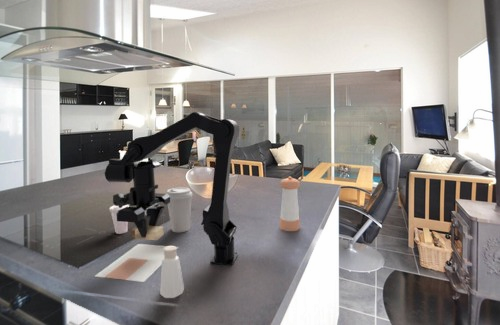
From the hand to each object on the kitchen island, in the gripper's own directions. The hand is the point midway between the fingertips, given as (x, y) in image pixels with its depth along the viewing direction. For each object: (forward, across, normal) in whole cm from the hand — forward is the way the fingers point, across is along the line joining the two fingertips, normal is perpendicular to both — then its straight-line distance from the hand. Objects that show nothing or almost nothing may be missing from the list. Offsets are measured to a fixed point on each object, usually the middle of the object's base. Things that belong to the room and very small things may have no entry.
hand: (147, 234), depth 81 cm
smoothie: (+6, -13, -19) cm, 24 cm away
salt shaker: (+6, -28, +40) cm, 49 cm away
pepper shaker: (+6, +16, +16) cm, 23 cm away
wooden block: (+1, 0, 0) cm, 1 cm away
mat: (+6, +4, 0) cm, 8 cm away
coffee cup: (+6, -19, +1) cm, 20 cm away
